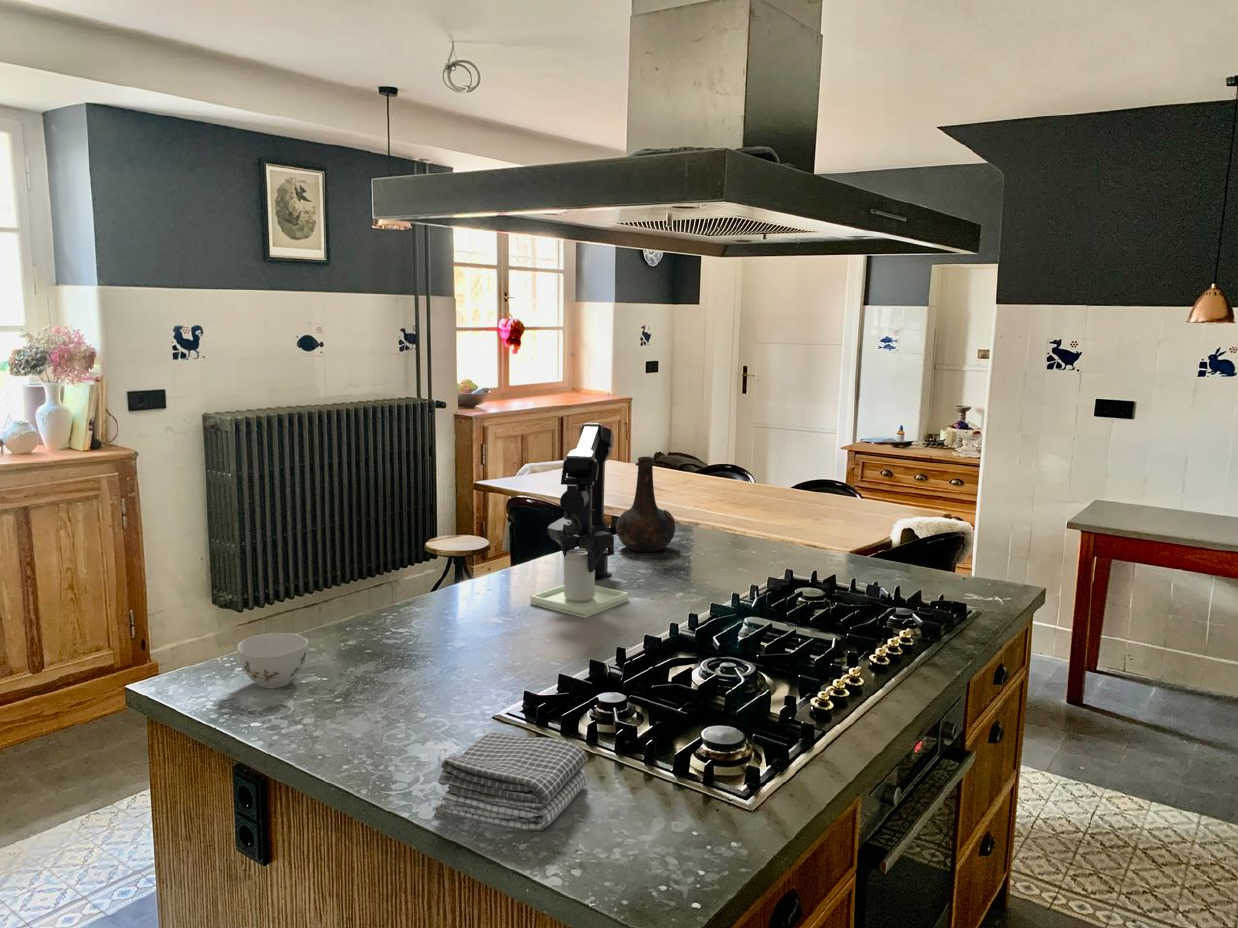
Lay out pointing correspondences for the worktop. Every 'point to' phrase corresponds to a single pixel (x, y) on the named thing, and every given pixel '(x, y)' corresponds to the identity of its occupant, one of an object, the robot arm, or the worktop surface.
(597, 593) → the tray
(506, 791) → the towel
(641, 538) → the glass bottle
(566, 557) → the can
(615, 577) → the worktop surface
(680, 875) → the worktop surface
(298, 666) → the teacup
